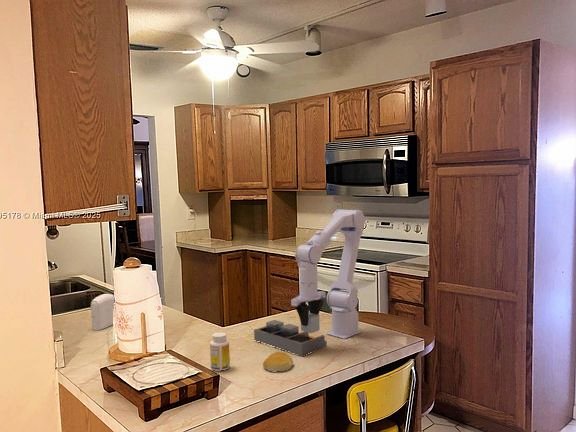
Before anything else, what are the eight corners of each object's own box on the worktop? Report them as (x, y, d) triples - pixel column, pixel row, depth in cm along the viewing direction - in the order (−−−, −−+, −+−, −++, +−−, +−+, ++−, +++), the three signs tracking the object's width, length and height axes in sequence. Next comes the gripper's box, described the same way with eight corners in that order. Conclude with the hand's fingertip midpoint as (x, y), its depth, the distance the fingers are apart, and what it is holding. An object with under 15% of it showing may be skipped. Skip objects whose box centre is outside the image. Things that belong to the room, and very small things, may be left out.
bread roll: (259, 371, 145) (258, 358, 144) (271, 360, 153) (271, 347, 153) (285, 375, 141) (285, 361, 141) (296, 364, 150) (296, 351, 149)
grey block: (309, 327, 164) (308, 312, 163) (319, 330, 161) (319, 315, 160) (300, 330, 161) (300, 315, 160) (311, 333, 158) (311, 317, 157)
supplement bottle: (230, 364, 150) (229, 330, 149) (229, 371, 145) (228, 336, 144) (211, 365, 150) (210, 331, 149) (210, 372, 144) (209, 337, 143)
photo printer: (99, 331, 185) (97, 298, 184) (90, 330, 186) (88, 297, 185) (117, 323, 194) (116, 292, 193) (108, 322, 196) (107, 291, 195)
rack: (279, 332, 179) (279, 316, 178) (326, 346, 163) (326, 328, 163) (254, 341, 170) (253, 324, 170) (301, 356, 155) (301, 338, 154)
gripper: (302, 287, 152) (303, 331, 153) (332, 280, 162) (332, 320, 163) (285, 284, 157) (286, 326, 158) (315, 277, 167) (316, 316, 168)
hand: (309, 323), depth 161 cm, fingers closed on grey block, 4 cm apart
